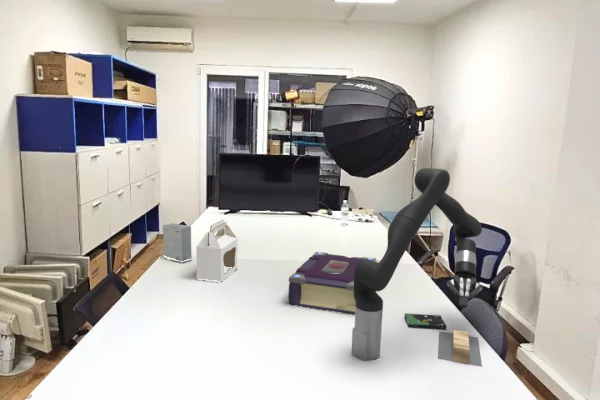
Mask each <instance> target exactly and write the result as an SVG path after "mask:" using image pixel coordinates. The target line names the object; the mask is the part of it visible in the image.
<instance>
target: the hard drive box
mask: <svg viewBox="0 0 600 400" xmlns="http://www.w3.org/2000/svg"><path fill="white" fill-rule="evenodd" d="M162 236H163V237H162V238H163V239H162V243H163V244H162V245H163V256H164V255H165V256H167V257H170V258H174V259H176V260H179V261H184V260H187V259H190V258H191V259H192V227H191V225H184V224H179V223H168V224H164V225H162Z"/></svg>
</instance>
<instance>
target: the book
mask: <svg viewBox="0 0 600 400" xmlns="http://www.w3.org/2000/svg"><path fill="white" fill-rule="evenodd" d="M362 259H369V260H372V261H375V262H377V258H373V257H367V256H366V257H365V256H363V257H359V256H358V257H357V256H352V257H348V256H346V255H339V254H332V253H329V252H323V251H315V252H314V253H313V254H312V255H311V256H310V257H308V259H307V260H306V261H305V262H303V264H301V266H300V267H298V268H297V269H296V270H295V272H294V273H292V274H291V275H290V276H288V283H289V284H288V303H289V305H290V304H291V305H290V306H293V305H297V306H296V307H300V306H303V307H302V308H307V307H309V308H308V309H313V308H315V309H314V310H320V309H322V310H321V311H326V310H328V311H327V312H333V311H334V312H333V313H339V312H340V314H346V315H354V316H355V308H356V301H355V298H354V271H355V268H356V265H357V264H358V262H359V261H361V260H362Z"/></svg>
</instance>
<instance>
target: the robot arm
mask: <svg viewBox="0 0 600 400" xmlns="http://www.w3.org/2000/svg"><path fill="white" fill-rule="evenodd" d="M450 181H451V176H450V173H449V172H448V170H446V169H443V168H433V167H430V168H429V167H424V168H420V169H418V171H416V173H415V176H414V184H415V187H416V189H417V190H418V192H420V193H421V194H420V196H418V197H417V198H416V199H414V200H413V201H411V202H410V203H408V204H407V205H405V206H404V207H402V208H401V209H400V210H398V212H397V213H396V215H395V216H394V218H393V220H392V221H391V222H390V223H389V226H388V228H387V246H386V251H385V253H384V254H383V256H382V258H381V259H380V261H379V262H378V261H376V262H375V261H372V260H369V259H362V260H361V261H359V262H358V264H357V265H356V268H355V271H354V298H355V301H356V308H355V315H354V327H353V328H352V329H351V332H352V335H351V351H350V352H351V353H350V354H351V355H353V356H355V357H356V358H358V359H360V360H362V361H363V362H365V361H373V360H377V359H378V358H380V356H381V354H380V353H381V346H382V345H381V344H382V343H381V342H382V341H381V340H382V327H383V312H384V300H383V298H382V297H381V296H380V295H379V293H377V292H381V291H383V290H384V289H386V288H387V286H388V284H389V282H390V281H391V280H392V277H393V276H394V273H395V271H396V269H397V267H398V265H399V264H400V261H401V259H402V258H403V256H404V254H405V252H406V250H407V249H408V247H409V246H410V244H411V242H412V241H413V240H414V238H415V237H416V235H417V233H418V232H419V230H420V228H421V226H422V225H423V223H424V222H425V220H426V219H427V217H428V216H429V214H430V213H431V211H432V209H433V208H434V207H435V206H436V207H437V208H438V209H439V210H440V211H441V212H442V213H443V214H444V216H445V217H446V218H447V220H448V222H450V223H451V224H452V225H453V228H452V229H453V235H454V237H455V243H456V255H455V261H454V275H453V277H452V279H451V280H450V279H448V280H447V282H446V286H447V287H448V288H449V290H450V291H451V292H452V294H453V295H454V296H455V297H458V299H459V303H458V304H459V305H458V306H459V307H460V308H461V309H466V308H468V306H469V305H468V304H469V299H473V298H475V296H477V295H479V293H480V292H481V291H483V287H484V286H483V284H481V283H479V282H478V280H477V271H476V270H477V257H476V255H477V244H476V243H477V242H475V240H473V239H471V238H474V237H479V236H480V235H481V234H482V232H483V230H482V229H483V227H482V224H481V223H480V221H479V220H478V219H477V218H476V217H475V216H473V215H471V214H470V213H468V212H467V211H466V210H465V209H464V207H463V206H462V204H461V203H460V202H458V200H457V199H455V198H454V197H452V196H450V195H449V194H448V193H446V192H447V190H448V187H449V185H450ZM455 286H456V287H457V288H456V287H455ZM473 288H474V289H473ZM458 289H459V291H458ZM472 289H473V290H472ZM471 290H472V291H471ZM464 291H465V292H464ZM470 291H471V292H470Z"/></svg>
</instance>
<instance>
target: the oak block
mask: <svg viewBox="0 0 600 400" xmlns="http://www.w3.org/2000/svg"><path fill="white" fill-rule="evenodd" d="M452 333H453V340H452V356H453V361H457V362H456V363H458V362H462V363H461V364H464V363H468V362H469V352H470V348H469V337H468V336H469V331H465V330H457V329H453V332H452ZM453 361H452V362H453Z"/></svg>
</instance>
